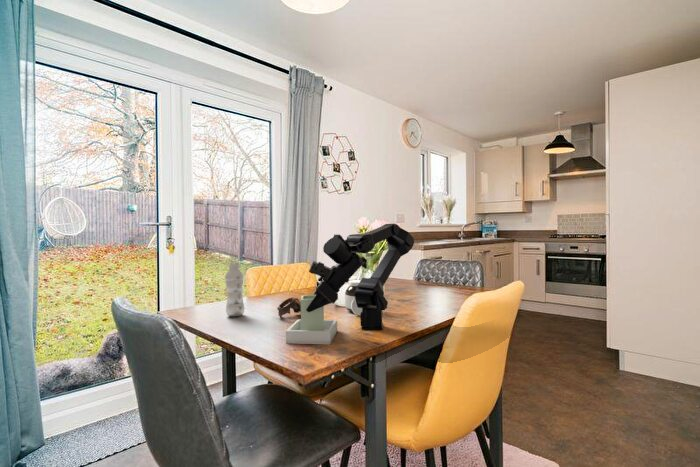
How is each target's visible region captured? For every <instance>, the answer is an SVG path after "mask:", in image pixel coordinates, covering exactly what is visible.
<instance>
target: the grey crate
mask: <svg viewBox="0 0 700 467" xmlns="http://www.w3.org/2000/svg"><path fill="white" fill-rule="evenodd" d="M337 333H338V320H337V319H324V331H309V330H301V318H300V319H296V321H295V322H294V323H292V324H291V325H290V326H289V327H288V328H287V329H286V330H285V343H286V344H298V345H299V344H301V345H302V344H303V345H305V344H307V345H331V344H332V342H333V340H334V338H335V336H336V334H337Z"/></svg>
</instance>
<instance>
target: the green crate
mask: <svg viewBox="0 0 700 467" xmlns="http://www.w3.org/2000/svg"><path fill="white" fill-rule="evenodd" d="M315 296H316V295H313V294H304V295H303V294H302V295H301V297H300V302H301V312H300V319H301V330H309V331H324V320H325V312H324V310H325V309H324V308H325V306H323V307H320V308H318V309H316V310H313V311H311V312H308V311H306V309H307V308H308V306H309V305H310V303H311V302H312V300H313V299H314V297H315Z"/></svg>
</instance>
